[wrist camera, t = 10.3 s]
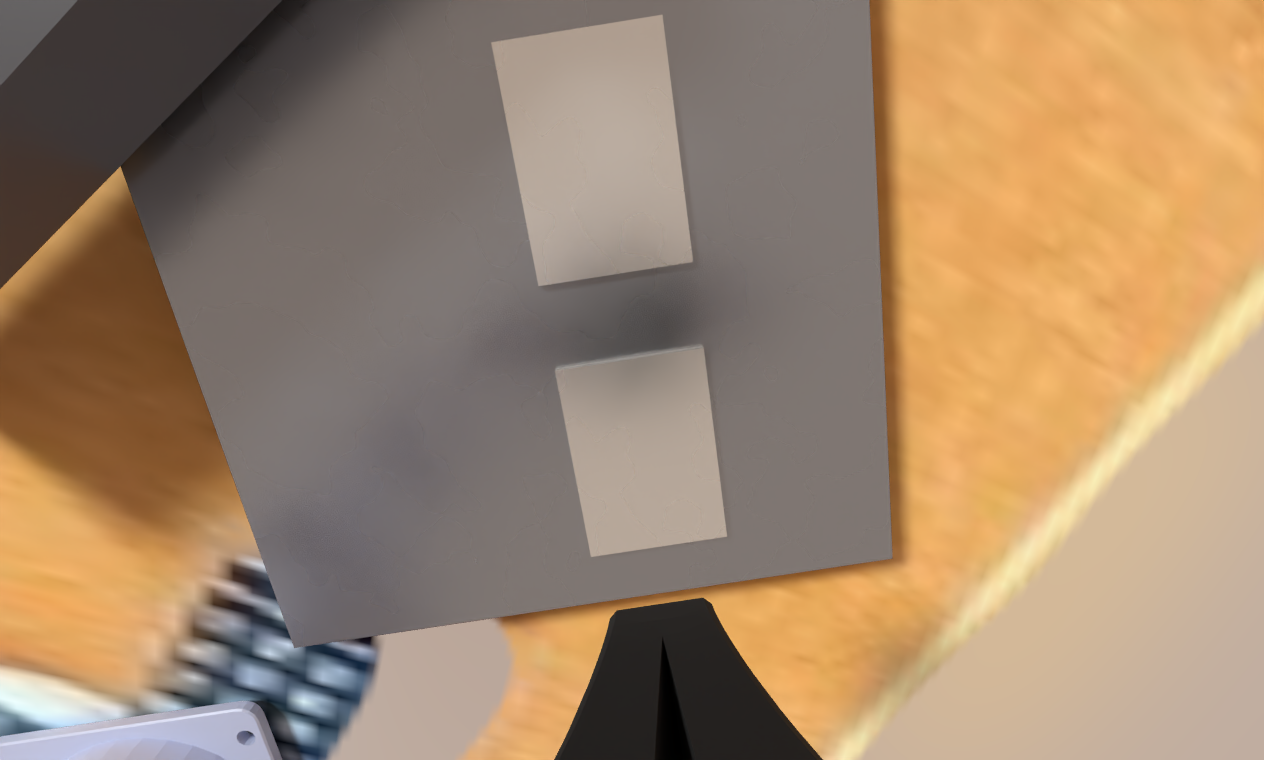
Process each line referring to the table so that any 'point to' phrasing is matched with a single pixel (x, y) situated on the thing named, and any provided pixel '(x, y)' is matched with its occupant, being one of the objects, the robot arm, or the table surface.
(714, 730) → the robot arm
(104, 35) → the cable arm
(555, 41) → the plate
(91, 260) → the table surface
